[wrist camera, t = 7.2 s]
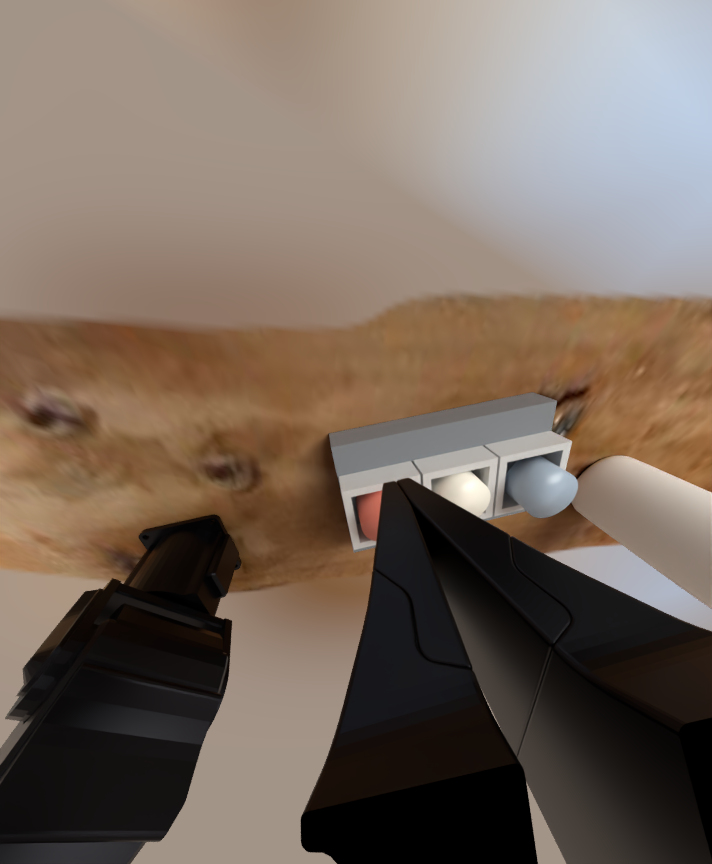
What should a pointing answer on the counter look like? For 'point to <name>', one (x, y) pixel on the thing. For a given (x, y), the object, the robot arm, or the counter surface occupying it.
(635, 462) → the milk bottle
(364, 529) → the button red
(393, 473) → the console
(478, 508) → the button ivory
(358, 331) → the counter surface
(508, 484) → the button blue
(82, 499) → the counter surface
